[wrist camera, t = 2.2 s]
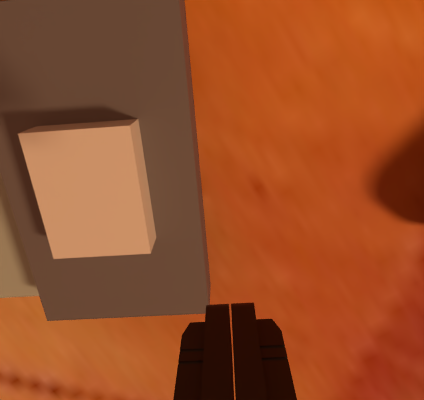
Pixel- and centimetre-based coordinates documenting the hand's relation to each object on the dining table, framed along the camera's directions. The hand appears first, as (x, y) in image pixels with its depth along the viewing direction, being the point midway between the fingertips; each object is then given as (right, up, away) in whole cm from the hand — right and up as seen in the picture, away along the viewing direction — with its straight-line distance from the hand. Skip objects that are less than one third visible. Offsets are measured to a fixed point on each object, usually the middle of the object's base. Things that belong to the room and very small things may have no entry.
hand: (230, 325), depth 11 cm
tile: (-9, +5, +14) cm, 17 cm away
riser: (-9, +7, +18) cm, 21 cm away
